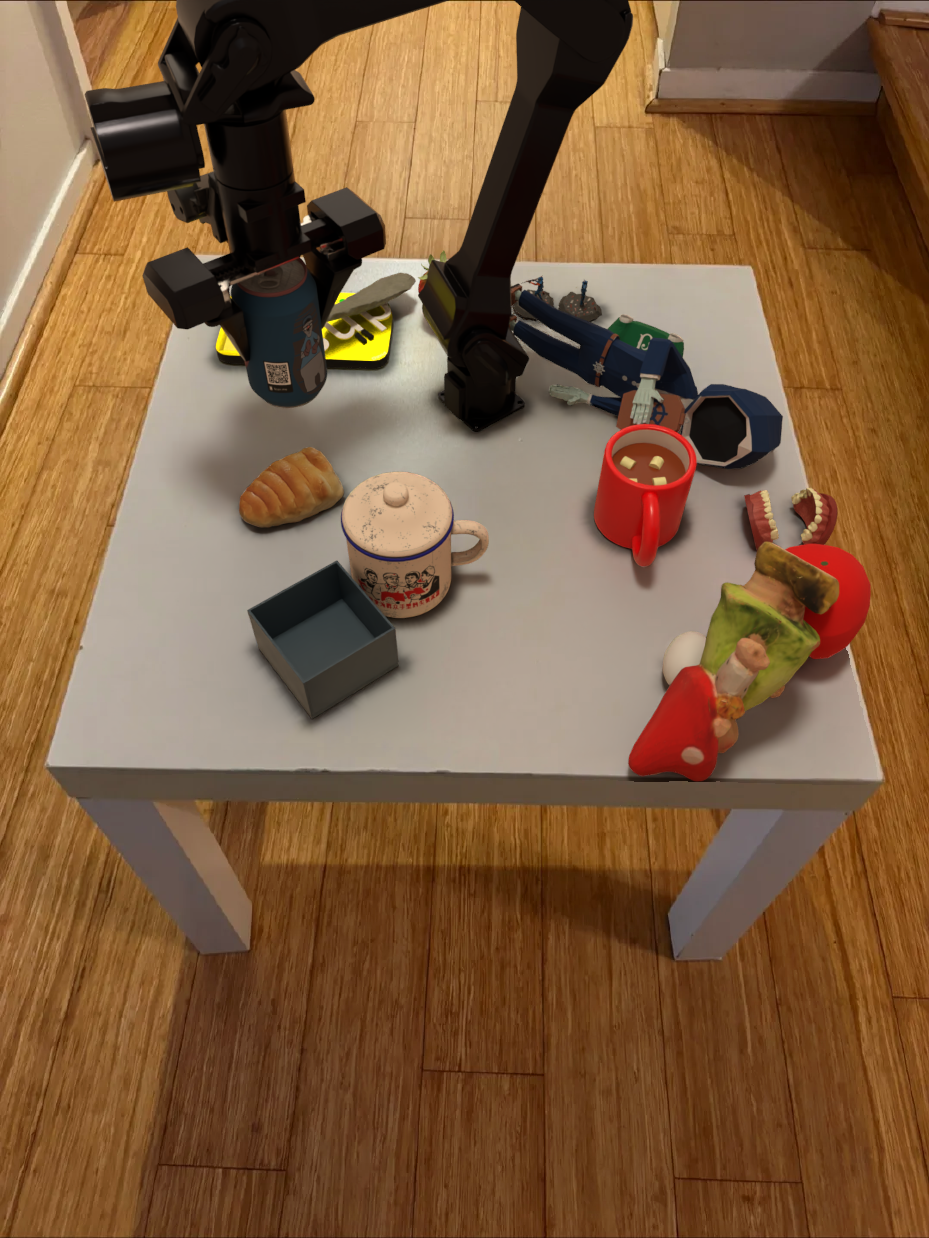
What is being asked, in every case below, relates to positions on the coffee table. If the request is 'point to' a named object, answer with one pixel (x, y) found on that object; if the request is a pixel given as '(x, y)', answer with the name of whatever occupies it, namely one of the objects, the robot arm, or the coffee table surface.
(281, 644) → the bin
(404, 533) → the teacup with lid
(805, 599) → the figurine
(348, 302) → the stone
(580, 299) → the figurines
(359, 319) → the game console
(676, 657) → the egg
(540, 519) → the coffee table surface
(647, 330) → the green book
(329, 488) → the pastry
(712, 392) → the figurine
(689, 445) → the mug
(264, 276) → the soda can
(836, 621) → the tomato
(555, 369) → the coffee table surface
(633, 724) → the coffee table surface
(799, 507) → the dentures
